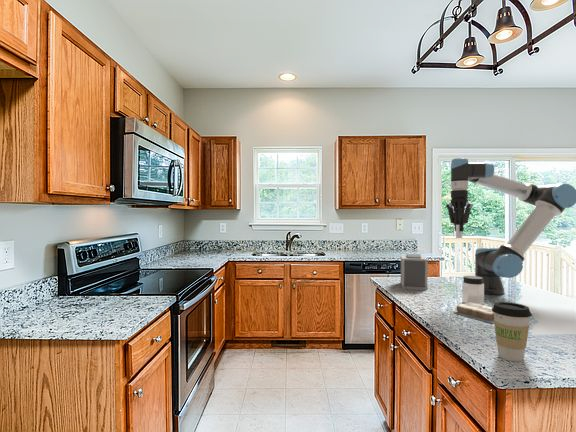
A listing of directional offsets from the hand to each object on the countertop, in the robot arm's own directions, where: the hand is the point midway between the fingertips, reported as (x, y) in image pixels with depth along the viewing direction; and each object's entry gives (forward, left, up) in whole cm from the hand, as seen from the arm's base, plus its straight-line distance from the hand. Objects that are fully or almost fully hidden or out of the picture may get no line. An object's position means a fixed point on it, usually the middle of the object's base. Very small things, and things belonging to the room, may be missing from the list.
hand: (458, 237), depth 174 cm
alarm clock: (-2, -29, -30) cm, 42 cm away
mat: (+19, +24, -29) cm, 42 cm away
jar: (+4, +10, -30) cm, 31 cm away
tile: (+19, +15, -28) cm, 37 cm away
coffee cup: (+53, +52, -30) cm, 80 cm away
